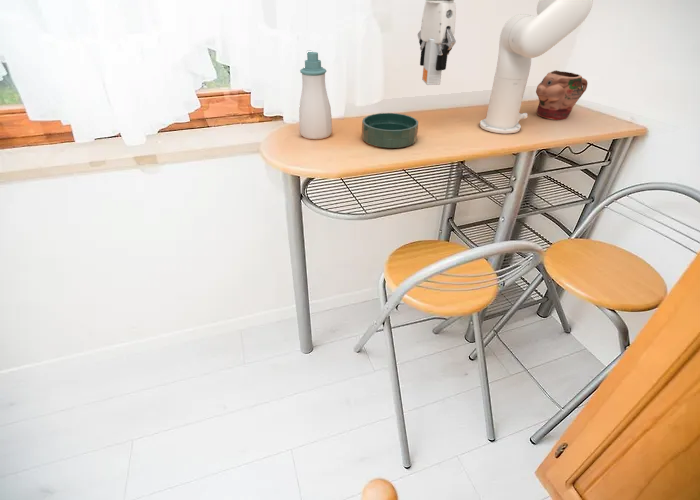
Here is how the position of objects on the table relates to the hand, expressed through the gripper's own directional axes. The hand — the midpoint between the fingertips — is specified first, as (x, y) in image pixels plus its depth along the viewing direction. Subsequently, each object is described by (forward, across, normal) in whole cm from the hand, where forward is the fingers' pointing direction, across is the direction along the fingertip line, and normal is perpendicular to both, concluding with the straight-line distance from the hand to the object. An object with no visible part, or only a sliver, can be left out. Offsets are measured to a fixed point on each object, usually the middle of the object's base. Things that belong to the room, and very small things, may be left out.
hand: (432, 67), depth 117 cm
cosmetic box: (+5, 0, 0) cm, 5 cm away
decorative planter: (+19, -8, -49) cm, 53 cm away
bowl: (+18, -3, +16) cm, 24 cm away
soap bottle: (+18, +10, +34) cm, 40 cm away
